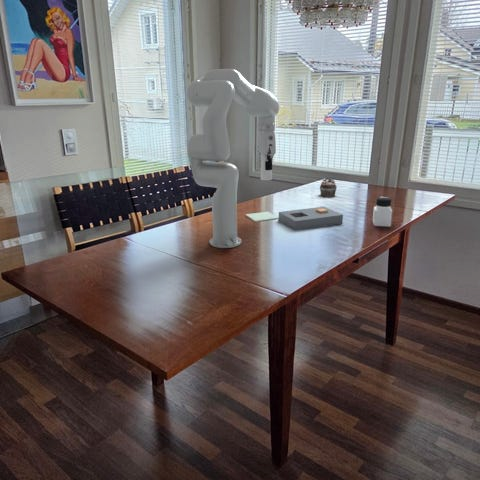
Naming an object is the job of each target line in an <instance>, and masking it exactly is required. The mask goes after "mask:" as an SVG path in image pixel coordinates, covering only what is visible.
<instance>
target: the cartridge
mask: <svg viewBox="0 0 480 480" xmlns="http://www.w3.org/2000/svg"><path fill="white" fill-rule="evenodd" d="M267 154H270V153H267ZM260 160H261V168H260V180H261V181H267V182H268V181H272V180H273V169H272V170H265V161H266V155H265V154H263V153H261V159H260Z"/></svg>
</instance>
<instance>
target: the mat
mask: <svg viewBox="0 0 480 480" xmlns="http://www.w3.org/2000/svg"><path fill="white" fill-rule="evenodd" d="M245 216H246V217H247V218H249V219H250V220H252V221H253V222H254V223H257V222H259V223H260V222H265V221H266V222H267V221H271V220H272V221H273V220H279V216H276V215H274V214H273V213H271V212H270V211H262V212H255V213H253V212H252V213H245Z"/></svg>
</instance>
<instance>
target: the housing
mask: <svg viewBox="0 0 480 480" xmlns="http://www.w3.org/2000/svg"><path fill="white" fill-rule="evenodd" d="M322 208H323V209H326V210H328V213H322V214H320V213H317V212H316V209H322ZM278 218H279V219H278V221H279V222H281V223H282V224H284V225H286V226H287V227H289V228H291V229H293V230H294V231H298V230H304V229H312V228H319V227H326V226H333V225H340V224H343V219H344V214H342V213H339V212H337V211H335V210H332V209H331V208H328V207H326V206H317V207H308V208H302V209H293V210H292V209H291V210H284V211H278Z"/></svg>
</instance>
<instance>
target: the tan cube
mask: <svg viewBox="0 0 480 480" xmlns="http://www.w3.org/2000/svg"><path fill="white" fill-rule="evenodd" d="M316 212H317V213H320V214H322V213H328V210H326V209H323V208H322V209H316Z"/></svg>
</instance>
